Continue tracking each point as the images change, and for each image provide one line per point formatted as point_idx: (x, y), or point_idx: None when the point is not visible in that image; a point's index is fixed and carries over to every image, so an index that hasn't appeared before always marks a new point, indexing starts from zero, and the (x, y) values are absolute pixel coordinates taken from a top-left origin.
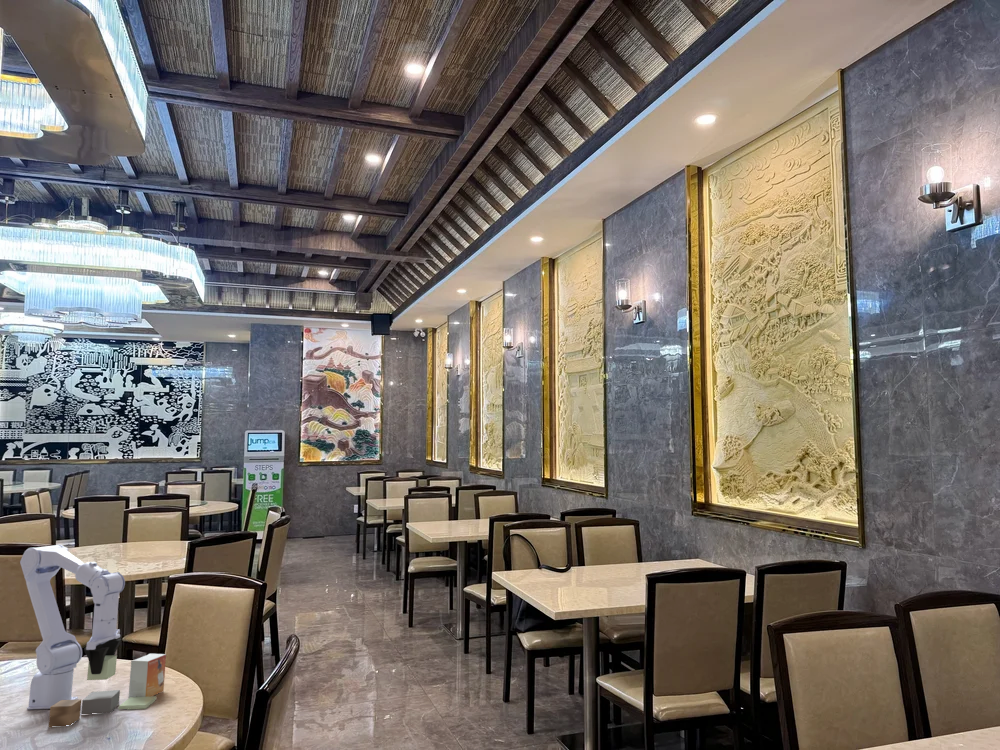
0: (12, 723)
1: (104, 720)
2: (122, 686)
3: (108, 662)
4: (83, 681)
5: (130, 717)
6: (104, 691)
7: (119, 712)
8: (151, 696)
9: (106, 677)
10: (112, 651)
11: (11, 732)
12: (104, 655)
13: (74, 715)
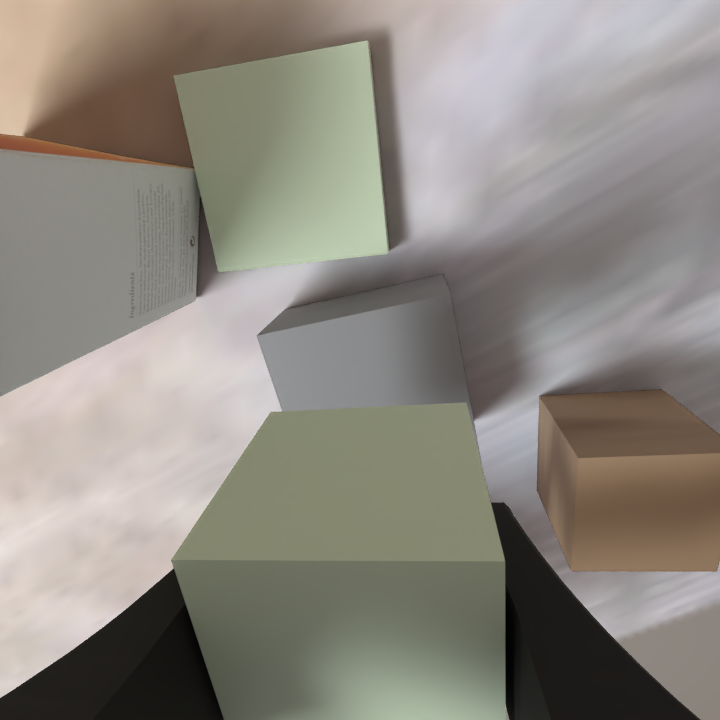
0: None
1: (586, 232)
2: (21, 443)
3: (479, 527)
4: (18, 631)
5: (551, 62)
6: None
7: (437, 216)
8: (184, 115)
9: (467, 415)
10: (151, 684)
11: (685, 603)
12: (605, 713)
13: (630, 412)
